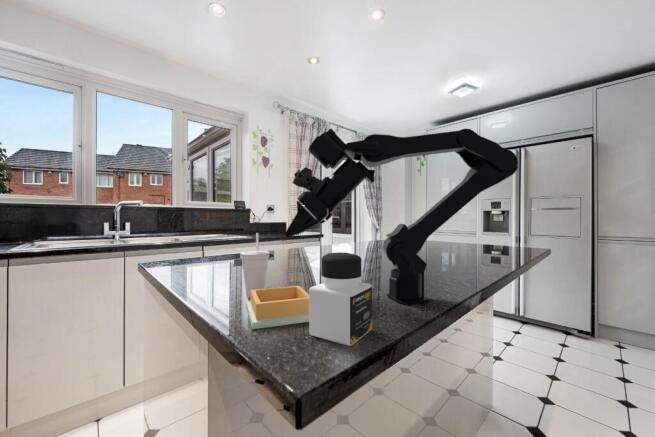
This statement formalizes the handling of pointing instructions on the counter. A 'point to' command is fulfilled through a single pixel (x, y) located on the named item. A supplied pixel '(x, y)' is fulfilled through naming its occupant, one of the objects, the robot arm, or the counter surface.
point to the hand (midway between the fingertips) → (290, 234)
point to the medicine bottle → (340, 301)
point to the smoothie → (254, 268)
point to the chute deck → (278, 306)
